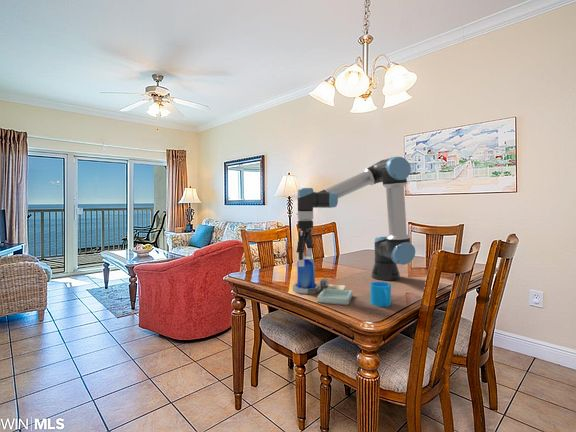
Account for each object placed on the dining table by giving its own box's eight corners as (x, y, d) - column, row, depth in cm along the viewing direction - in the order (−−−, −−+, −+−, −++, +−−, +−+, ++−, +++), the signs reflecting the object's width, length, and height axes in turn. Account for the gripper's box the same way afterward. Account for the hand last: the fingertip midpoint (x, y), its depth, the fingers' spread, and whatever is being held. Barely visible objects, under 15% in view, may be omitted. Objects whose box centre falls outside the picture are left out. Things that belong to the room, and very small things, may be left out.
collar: (321, 287, 156) (321, 282, 156) (315, 294, 144) (315, 289, 144) (297, 285, 160) (297, 281, 160) (290, 292, 148) (290, 287, 148)
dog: (328, 289, 153) (328, 279, 153) (326, 291, 149) (326, 281, 149) (322, 288, 154) (322, 278, 153) (320, 291, 150) (320, 280, 150)
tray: (352, 296, 142) (352, 290, 142) (348, 305, 129) (348, 299, 129) (323, 293, 146) (323, 288, 146) (317, 302, 134) (317, 296, 133)
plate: (345, 290, 152) (345, 285, 152) (343, 295, 144) (343, 290, 144) (329, 289, 154) (329, 284, 154) (326, 294, 147) (326, 288, 146)
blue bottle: (316, 288, 155) (316, 256, 154) (312, 293, 147) (312, 259, 146) (300, 287, 158) (300, 255, 157) (295, 291, 150) (294, 258, 149)
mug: (367, 300, 135) (367, 282, 134) (386, 300, 136) (386, 281, 135) (378, 310, 123) (378, 290, 123) (398, 309, 124) (398, 289, 123)
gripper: (304, 218, 164) (304, 258, 165) (289, 221, 140) (289, 268, 141) (318, 218, 161) (318, 259, 162) (305, 221, 138) (305, 269, 138)
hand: (305, 263), depth 152 cm, fingers open, 13 cm apart
